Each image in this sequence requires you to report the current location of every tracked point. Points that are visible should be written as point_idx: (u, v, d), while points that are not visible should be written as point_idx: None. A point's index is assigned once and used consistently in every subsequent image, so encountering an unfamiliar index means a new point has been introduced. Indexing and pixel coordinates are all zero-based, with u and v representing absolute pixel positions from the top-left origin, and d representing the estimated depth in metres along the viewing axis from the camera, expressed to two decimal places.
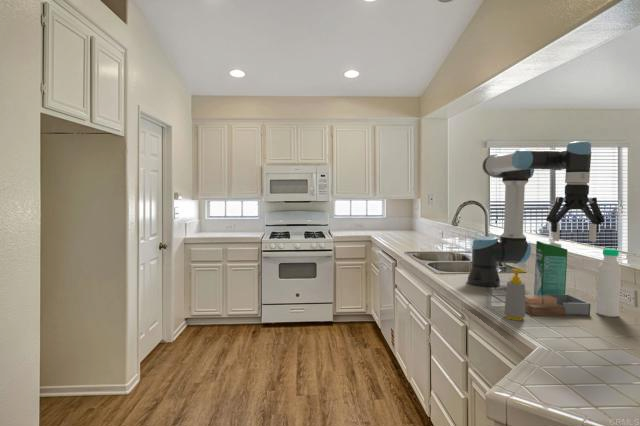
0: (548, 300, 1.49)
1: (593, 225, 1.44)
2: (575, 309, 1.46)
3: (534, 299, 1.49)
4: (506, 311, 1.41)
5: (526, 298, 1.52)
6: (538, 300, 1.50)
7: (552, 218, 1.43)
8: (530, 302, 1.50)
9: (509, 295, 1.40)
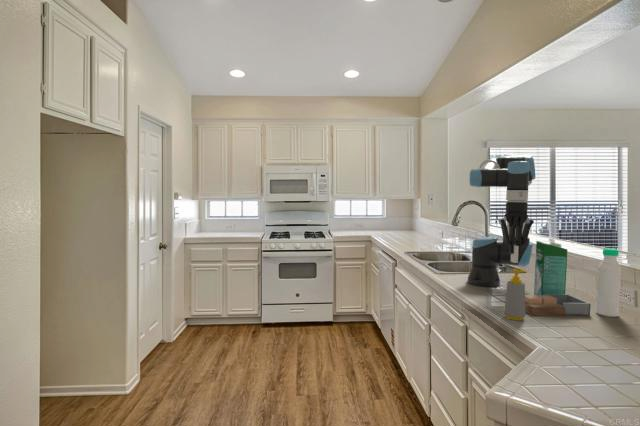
0: (548, 300, 1.49)
1: None
2: (575, 309, 1.46)
3: (534, 299, 1.49)
4: (506, 311, 1.41)
5: (526, 298, 1.52)
6: (538, 300, 1.50)
7: (508, 240, 1.49)
8: (530, 302, 1.50)
9: (509, 295, 1.40)
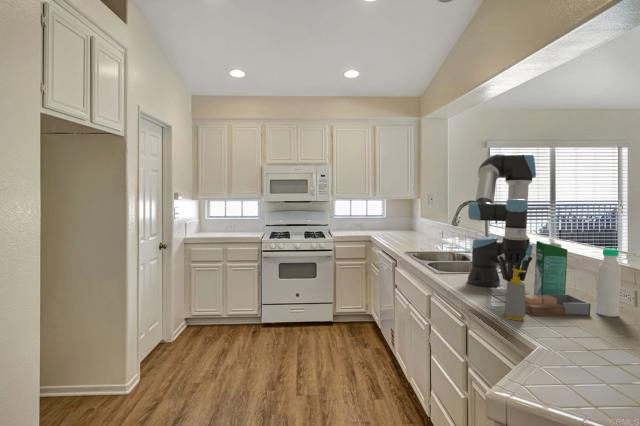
0: (548, 300, 1.49)
1: None
2: (575, 309, 1.46)
3: (534, 299, 1.49)
4: (506, 311, 1.41)
5: (526, 298, 1.52)
6: (538, 300, 1.50)
7: (506, 277, 1.50)
8: (530, 302, 1.50)
9: (509, 295, 1.40)
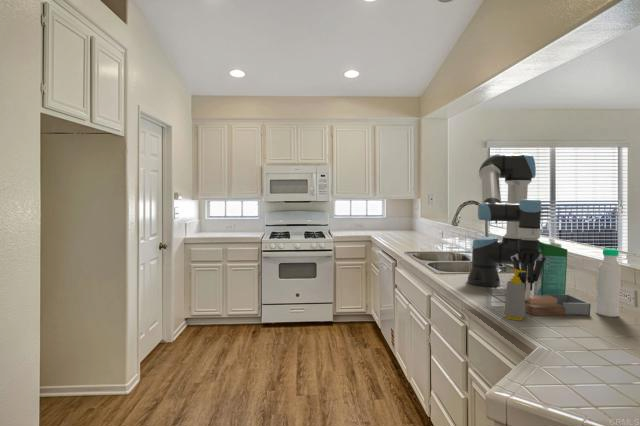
0: (548, 300, 1.49)
1: None
2: (575, 309, 1.46)
3: (536, 299, 1.49)
4: (506, 311, 1.41)
5: None
6: (540, 300, 1.49)
7: (520, 277, 1.50)
8: (532, 302, 1.49)
9: (509, 295, 1.40)
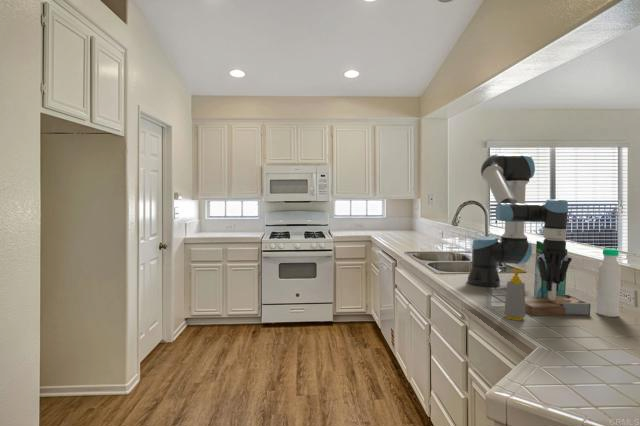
0: None
1: None
2: (575, 309, 1.46)
3: (562, 300, 1.49)
4: (506, 311, 1.41)
5: None
6: (566, 301, 1.49)
7: (546, 278, 1.50)
8: (558, 302, 1.49)
9: (509, 295, 1.40)
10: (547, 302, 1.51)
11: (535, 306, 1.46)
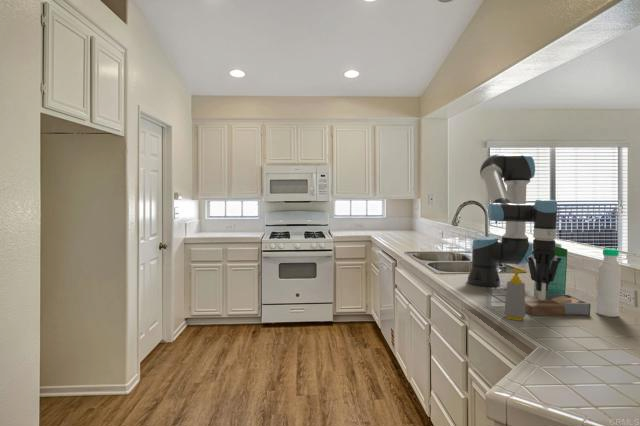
0: None
1: None
2: (575, 309, 1.46)
3: (563, 302, 1.49)
4: (506, 311, 1.41)
5: (555, 302, 1.51)
6: (567, 302, 1.49)
7: (535, 278, 1.50)
8: None
9: (509, 295, 1.40)
10: (547, 302, 1.51)
11: (535, 306, 1.46)
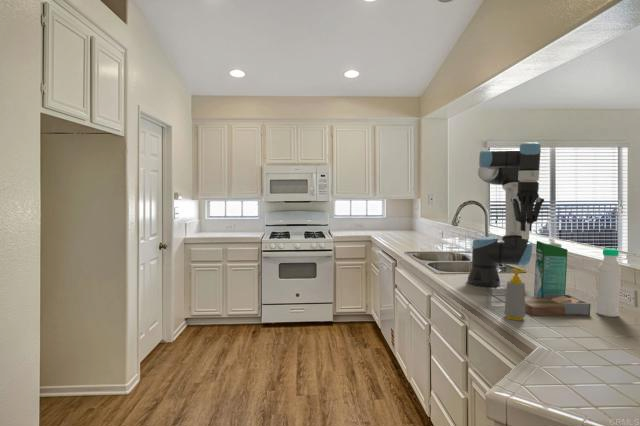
0: None
1: None
2: (575, 309, 1.46)
3: (563, 302, 1.49)
4: (506, 311, 1.41)
5: (555, 302, 1.51)
6: (567, 302, 1.49)
7: (520, 218, 1.57)
8: None
9: (509, 295, 1.40)
10: (547, 302, 1.51)
11: (535, 306, 1.46)
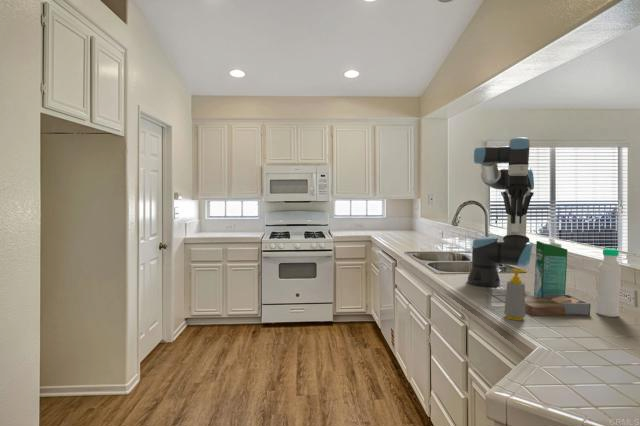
0: None
1: None
2: (575, 309, 1.46)
3: (563, 302, 1.49)
4: (506, 311, 1.41)
5: (555, 302, 1.51)
6: (567, 302, 1.49)
7: (510, 211, 1.62)
8: None
9: (509, 295, 1.40)
10: (547, 302, 1.51)
11: (535, 306, 1.46)
